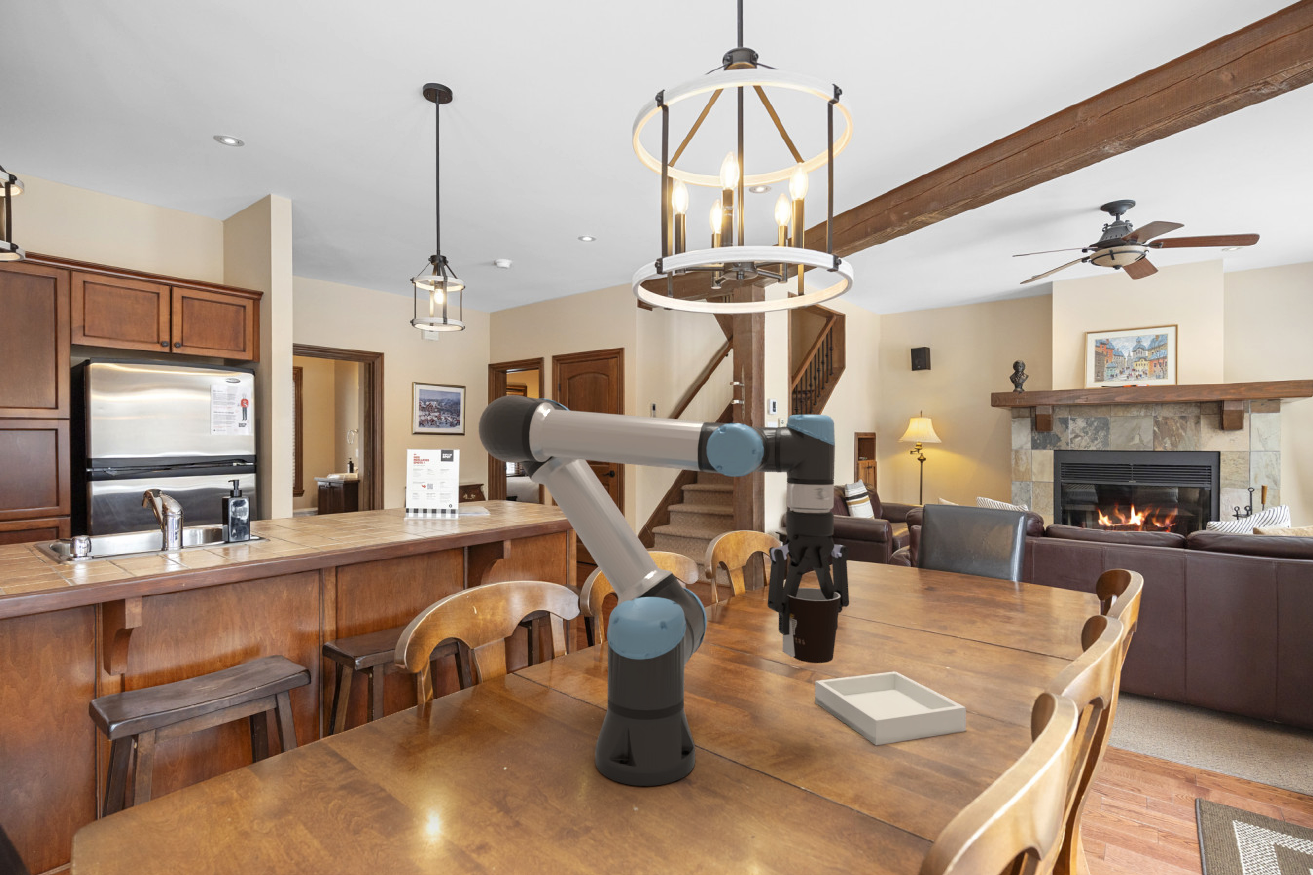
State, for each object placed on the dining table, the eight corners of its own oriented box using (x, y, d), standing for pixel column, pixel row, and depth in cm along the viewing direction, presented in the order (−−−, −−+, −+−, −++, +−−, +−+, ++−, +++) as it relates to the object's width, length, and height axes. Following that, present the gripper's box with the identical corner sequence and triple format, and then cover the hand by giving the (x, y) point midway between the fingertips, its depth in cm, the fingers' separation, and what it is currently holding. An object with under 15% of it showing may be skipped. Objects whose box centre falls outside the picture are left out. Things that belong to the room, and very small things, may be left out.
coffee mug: (842, 667, 98) (842, 601, 98) (784, 663, 100) (784, 598, 100) (836, 644, 110) (837, 585, 110) (785, 640, 111) (785, 582, 112)
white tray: (876, 745, 104) (876, 720, 104) (815, 702, 121) (815, 680, 121) (965, 730, 109) (965, 707, 109) (895, 691, 126) (895, 671, 127)
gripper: (767, 513, 98) (765, 665, 98) (874, 511, 104) (872, 654, 104) (745, 508, 105) (743, 650, 105) (847, 506, 111) (845, 640, 111)
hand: (808, 651), depth 105 cm, fingers closed on coffee mug, 6 cm apart
